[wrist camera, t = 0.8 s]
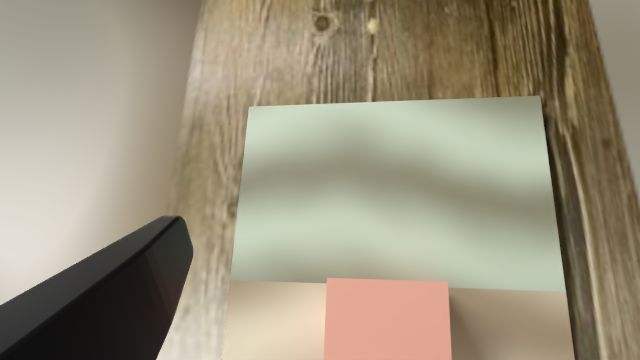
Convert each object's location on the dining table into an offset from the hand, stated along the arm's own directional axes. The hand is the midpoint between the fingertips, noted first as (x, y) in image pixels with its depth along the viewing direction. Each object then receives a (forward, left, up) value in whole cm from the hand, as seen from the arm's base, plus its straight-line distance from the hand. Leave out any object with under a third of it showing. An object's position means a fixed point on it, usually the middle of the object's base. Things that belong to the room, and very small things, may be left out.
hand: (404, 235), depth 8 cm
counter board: (-2, 0, -14) cm, 14 cm away
